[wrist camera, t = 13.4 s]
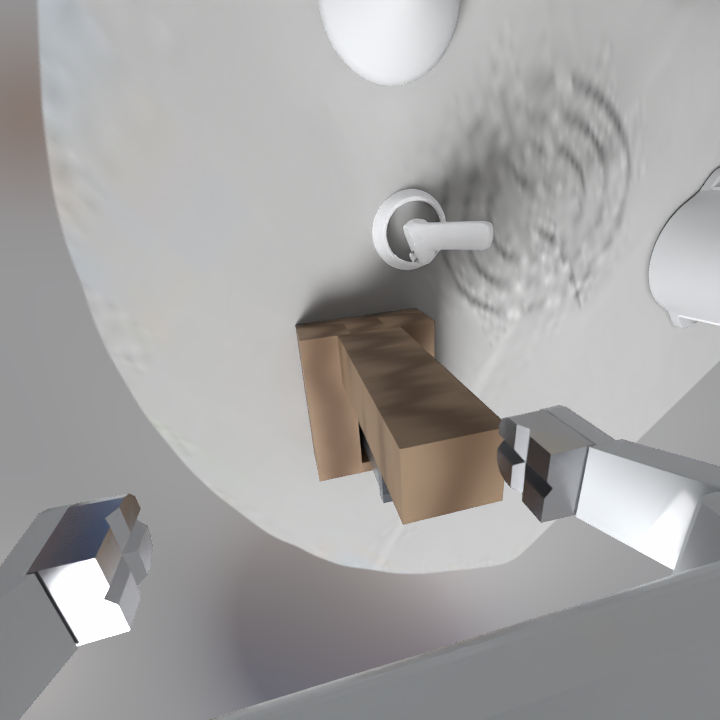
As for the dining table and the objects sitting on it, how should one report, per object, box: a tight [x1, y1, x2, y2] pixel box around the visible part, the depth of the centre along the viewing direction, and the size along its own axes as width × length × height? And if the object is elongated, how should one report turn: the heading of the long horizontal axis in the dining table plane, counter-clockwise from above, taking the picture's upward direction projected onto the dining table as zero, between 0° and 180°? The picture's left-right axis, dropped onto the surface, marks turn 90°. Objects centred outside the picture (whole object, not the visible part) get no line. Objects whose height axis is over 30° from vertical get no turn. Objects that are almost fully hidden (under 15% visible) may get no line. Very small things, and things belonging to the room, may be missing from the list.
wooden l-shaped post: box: [295, 308, 504, 525], centre depth 33 cm, size 13×16×23 cm
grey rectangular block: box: [358, 421, 393, 503], centre depth 39 cm, size 2×8×10 cm, turn 5°
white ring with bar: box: [372, 189, 494, 270], centre depth 36 cm, size 8×12×7 cm
